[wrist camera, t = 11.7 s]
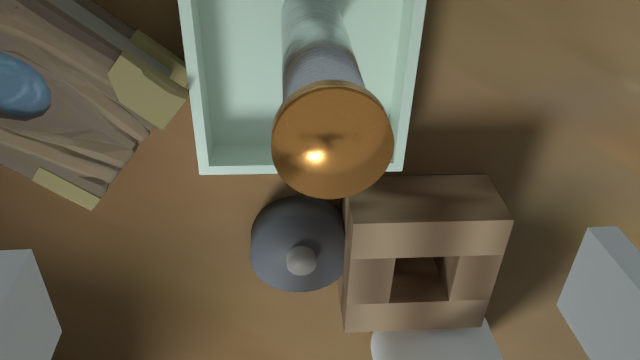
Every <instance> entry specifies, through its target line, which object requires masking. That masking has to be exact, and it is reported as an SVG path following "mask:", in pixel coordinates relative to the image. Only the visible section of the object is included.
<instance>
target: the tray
mask: <svg viewBox="0 0 640 360" xmlns="http://www.w3.org/2000/svg"><path fill="white" fill-rule="evenodd" d="M284 1H285V0H178V6H179V14H180V22H181V30H182V38H183V46H184V54H185V62H186V70H187V78H188V86H189V94H190V102H191V110H192V118H193V126H194V134H195V142H196V150H197V158H198V166H199V174H200V175H223V174H278V172H277V170H276V168H275V166H274V163H273V160H272V154H271V133H272V124H273V120H274V117H275V115H276V113H277V111H278V109H279V107H280V106H281V104H282V103H283V93H282V41H281V10H282V6H283V3H284ZM336 1H337V3H338V6H339V9H340V12H341V15H342V18H343V21H344V24H345V27H346V30H347V33H348V36H349V39H350V43H351V46H352V49H353V52H354V55H355V58H356V61H357V64H358V67H359V70H360V73H361V76H362V79H363V82H364V85H365V88H366V89H367V90H369V91H370V92H371V93H372V94H373V95H375V96H376V97H377V99H378V100H379V101H380V102H381V104H382V106H383V107H384V109H385V112H386V114H387V117H388V119H389V122H390V125H391V127H392V131H393V135H394V152H393V156H392V159H391V162H390V164H389V166H388V168H387V169H386V171H385V172H396V171H402V170H403V163H404V156H405V149H406V142H407V135H408V128H409V121H410V114H411V107H412V100H413V93H414V86H415V79H416V72H417V65H418V58H419V51H420V44H421V37H422V30H423V23H424V16H425V9H426V2H427V0H336Z"/></svg>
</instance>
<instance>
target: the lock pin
mask: <svg viewBox="0 0 640 360" xmlns="http://www.w3.org/2000/svg"><path fill="white" fill-rule="evenodd" d="M281 41H282V93H283V103H282V104H281V106H280V107H279V109H278V111H277V113H276V115H275V117H274V120H273V124H272V133H271V154H272V160H273V163H274V166H275V168H276V170H277V172H278V174H279V175H280V177H281V178H282V179H283V180H284V181H285V182H286V183H287V184H288V185H289V186H290V187H292V188H293V189H295V190H296V191H298V192H300V193H302V194H305V195H307V196H311V197H315V198H321V199H339V198H344V197H348V196H352V195H355V194H357V193H360V192H361V191H363V190H365V189H367V188H368V187H370V186H371V185H373V184H374V183H375V182H376V181H377V180H378V179H379V178H380V177H381V176H382V175H383V174H384V172H385V171H386V169H387V168H388V166H389V164H390V162H391V159H392V156H393V152H394V135H393V131H392V127H391V125H390V122H389V119H388V117H387V114H386V112H385V109H384V107H383V106H382V104H381V102H380V101H379V100H378V99H377V97H376V96H375V95H373V94H372V93H371V92H370V91H369V90H367V89H366V88H365V85H364V82H363V79H362V76H361V73H360V70H359V67H358V64H357V61H356V58H355V55H354V52H353V49H352V46H351V43H350V39H349V36H348V33H347V30H346V27H345V24H344V21H343V18H342V15H341V12H340V9H339V6H338V3H337V1H336V0H285V1H284V3H283V6H282V10H281Z"/></svg>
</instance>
